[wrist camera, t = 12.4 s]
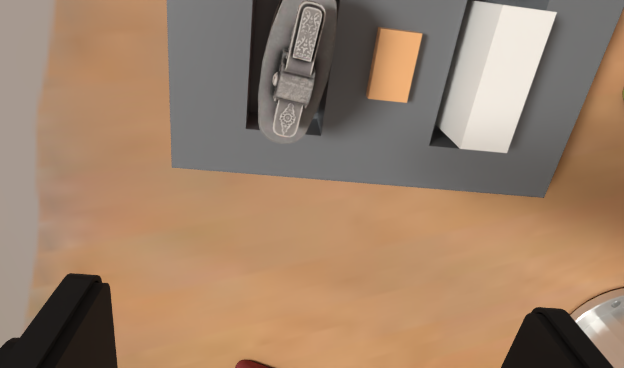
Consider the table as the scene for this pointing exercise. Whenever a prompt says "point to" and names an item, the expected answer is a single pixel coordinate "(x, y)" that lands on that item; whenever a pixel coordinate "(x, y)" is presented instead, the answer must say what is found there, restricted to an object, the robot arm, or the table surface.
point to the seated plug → (491, 73)
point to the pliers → (249, 364)
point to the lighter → (295, 67)
